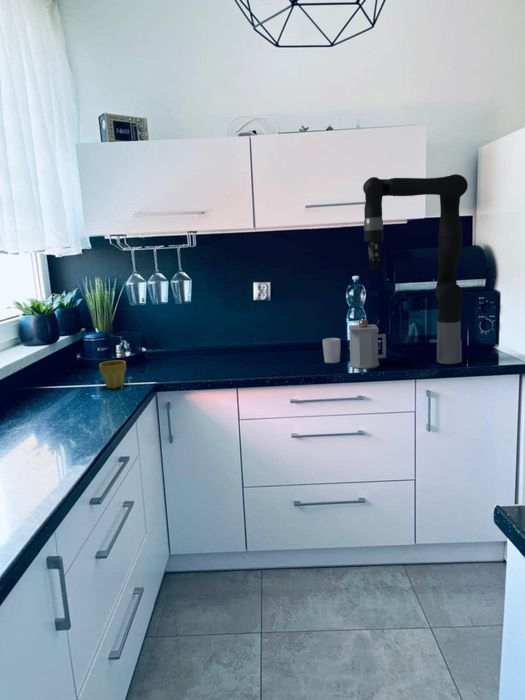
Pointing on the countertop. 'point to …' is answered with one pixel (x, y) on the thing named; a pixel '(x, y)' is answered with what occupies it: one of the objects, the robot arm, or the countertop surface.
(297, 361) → the countertop surface
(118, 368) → the plant pot
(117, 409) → the countertop surface
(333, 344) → the white cup
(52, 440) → the countertop surface
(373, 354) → the press
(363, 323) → the plunger
